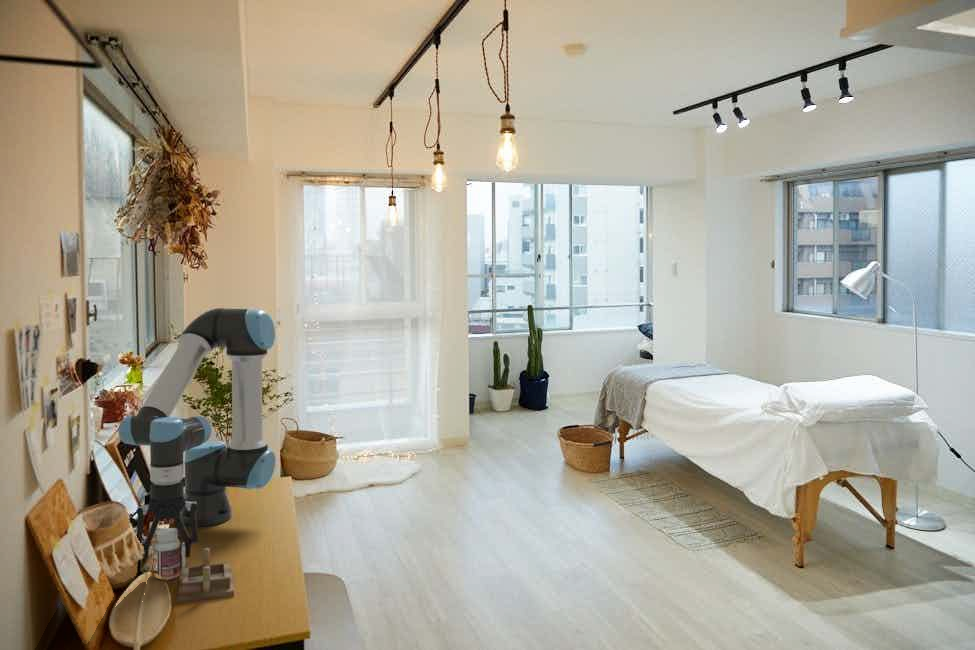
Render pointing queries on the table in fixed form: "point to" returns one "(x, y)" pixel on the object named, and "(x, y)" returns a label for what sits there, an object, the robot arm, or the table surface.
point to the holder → (205, 581)
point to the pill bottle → (168, 553)
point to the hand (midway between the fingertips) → (167, 571)
